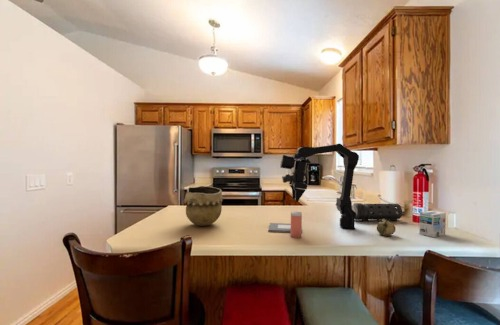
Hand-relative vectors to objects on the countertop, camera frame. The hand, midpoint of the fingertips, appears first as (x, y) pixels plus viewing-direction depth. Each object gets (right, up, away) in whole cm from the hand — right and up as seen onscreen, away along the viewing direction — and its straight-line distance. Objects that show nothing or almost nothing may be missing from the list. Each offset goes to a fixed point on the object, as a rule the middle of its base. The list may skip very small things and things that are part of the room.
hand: (295, 200), depth 139 cm
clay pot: (-48, -14, +2) cm, 50 cm away
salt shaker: (-2, -14, -16) cm, 22 cm away
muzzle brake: (+50, -15, +18) cm, 55 cm away
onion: (+41, -15, -13) cm, 45 cm away
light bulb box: (+64, -15, -11) cm, 67 cm away
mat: (-6, -14, -3) cm, 15 cm away
